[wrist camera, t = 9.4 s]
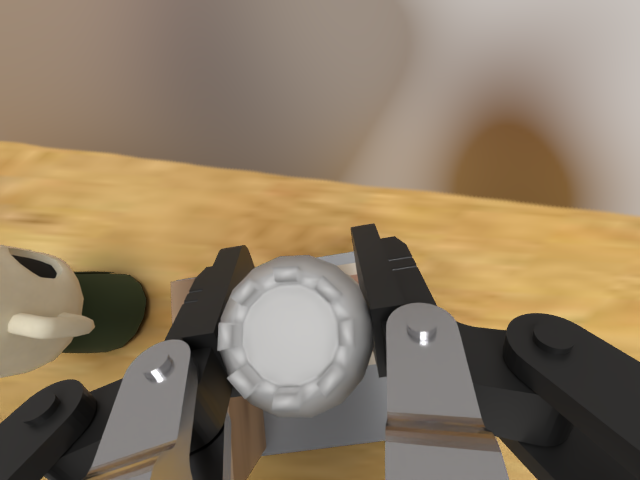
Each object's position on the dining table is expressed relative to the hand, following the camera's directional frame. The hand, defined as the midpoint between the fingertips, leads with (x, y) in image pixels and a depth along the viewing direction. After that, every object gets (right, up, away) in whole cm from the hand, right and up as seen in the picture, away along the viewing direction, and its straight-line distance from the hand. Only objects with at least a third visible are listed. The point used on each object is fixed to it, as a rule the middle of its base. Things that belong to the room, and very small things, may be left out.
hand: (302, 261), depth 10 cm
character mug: (-16, -5, +16) cm, 24 cm away
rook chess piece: (+1, -3, +4) cm, 5 cm away
